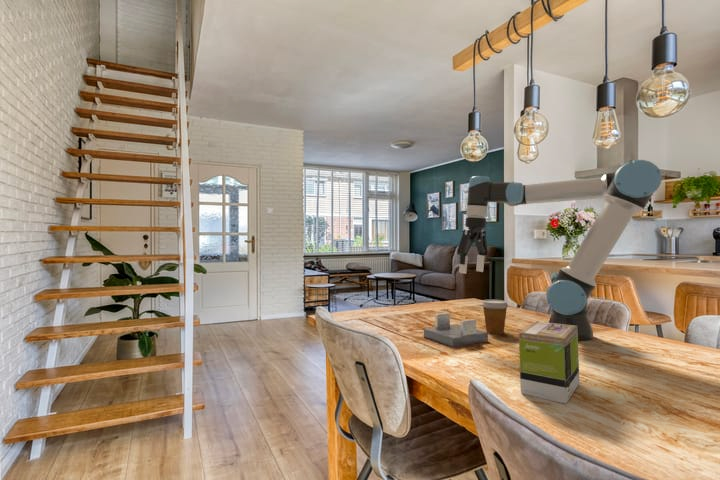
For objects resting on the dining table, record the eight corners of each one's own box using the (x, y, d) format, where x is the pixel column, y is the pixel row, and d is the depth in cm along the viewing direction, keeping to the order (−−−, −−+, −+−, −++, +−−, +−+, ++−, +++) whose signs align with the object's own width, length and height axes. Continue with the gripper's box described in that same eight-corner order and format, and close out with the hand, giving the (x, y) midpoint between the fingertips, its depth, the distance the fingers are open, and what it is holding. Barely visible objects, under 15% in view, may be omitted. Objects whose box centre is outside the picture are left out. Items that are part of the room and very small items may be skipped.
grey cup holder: (488, 341, 136) (487, 318, 136) (453, 347, 129) (452, 323, 129) (456, 331, 151) (456, 311, 151) (423, 336, 143) (423, 315, 143)
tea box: (537, 376, 102) (536, 319, 102) (580, 384, 95) (579, 324, 95) (518, 394, 90) (518, 330, 90) (566, 405, 84) (566, 337, 84)
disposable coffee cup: (504, 329, 153) (504, 299, 153) (511, 335, 144) (511, 303, 144) (479, 329, 154) (479, 299, 154) (485, 335, 145) (484, 303, 145)
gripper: (482, 218, 159) (477, 269, 161) (450, 214, 141) (445, 272, 143) (499, 219, 154) (494, 272, 155) (469, 215, 136) (464, 275, 137)
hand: (471, 272), depth 149 cm, fingers open, 13 cm apart
